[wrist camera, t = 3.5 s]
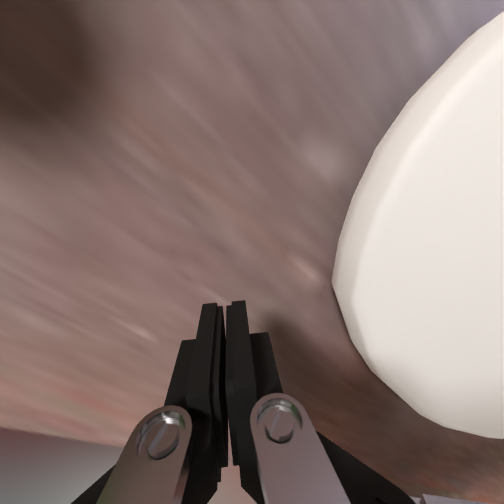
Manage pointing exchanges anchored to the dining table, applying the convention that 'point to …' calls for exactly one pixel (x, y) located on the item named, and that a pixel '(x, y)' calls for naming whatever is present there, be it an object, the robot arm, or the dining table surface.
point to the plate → (435, 245)
